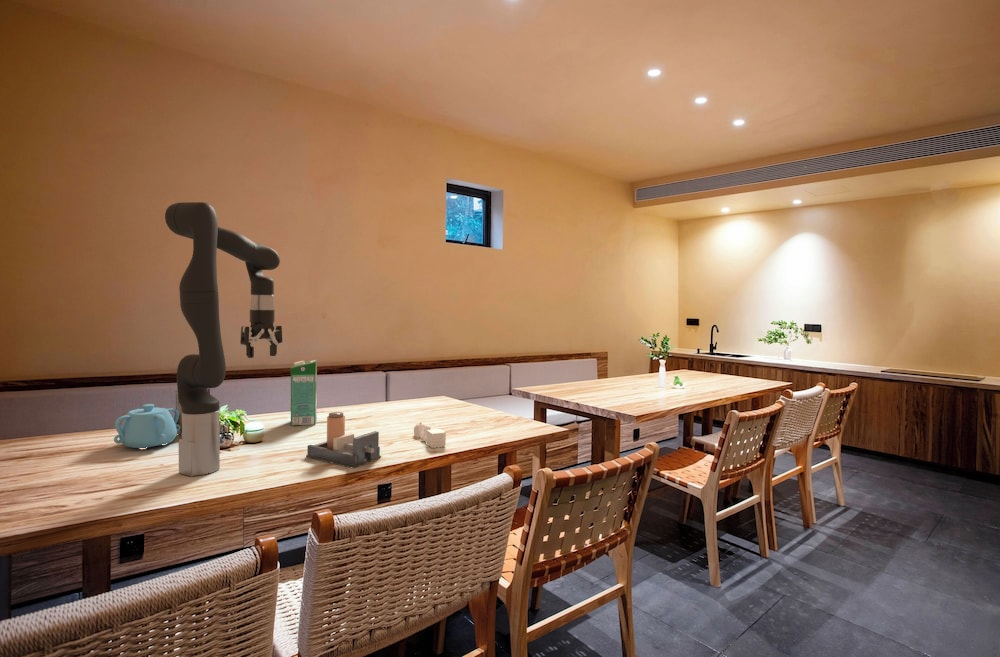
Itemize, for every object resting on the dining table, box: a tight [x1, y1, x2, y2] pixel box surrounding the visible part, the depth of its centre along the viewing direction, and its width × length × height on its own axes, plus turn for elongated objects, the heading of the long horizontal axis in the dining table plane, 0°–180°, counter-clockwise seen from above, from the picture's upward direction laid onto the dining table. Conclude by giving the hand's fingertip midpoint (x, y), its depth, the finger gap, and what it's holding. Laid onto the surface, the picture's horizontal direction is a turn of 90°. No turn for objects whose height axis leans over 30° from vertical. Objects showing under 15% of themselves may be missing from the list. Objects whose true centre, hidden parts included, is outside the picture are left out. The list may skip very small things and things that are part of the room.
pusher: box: [333, 432, 374, 453], centre depth 156 cm, size 7×12×6 cm, turn 63°
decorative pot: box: [113, 403, 180, 449], centre depth 166 cm, size 16×16×14 cm
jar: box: [326, 411, 346, 449], centre depth 160 cm, size 5×5×13 cm
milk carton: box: [290, 359, 318, 427], centre depth 200 cm, size 9×9×25 cm
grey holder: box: [305, 430, 382, 469], centre depth 158 cm, size 12×20×8 cm, turn 63°
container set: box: [413, 421, 447, 449], centre depth 180 cm, size 20×5×6 cm, turn 30°
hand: (262, 356), depth 168 cm, fingers open, 8 cm apart
